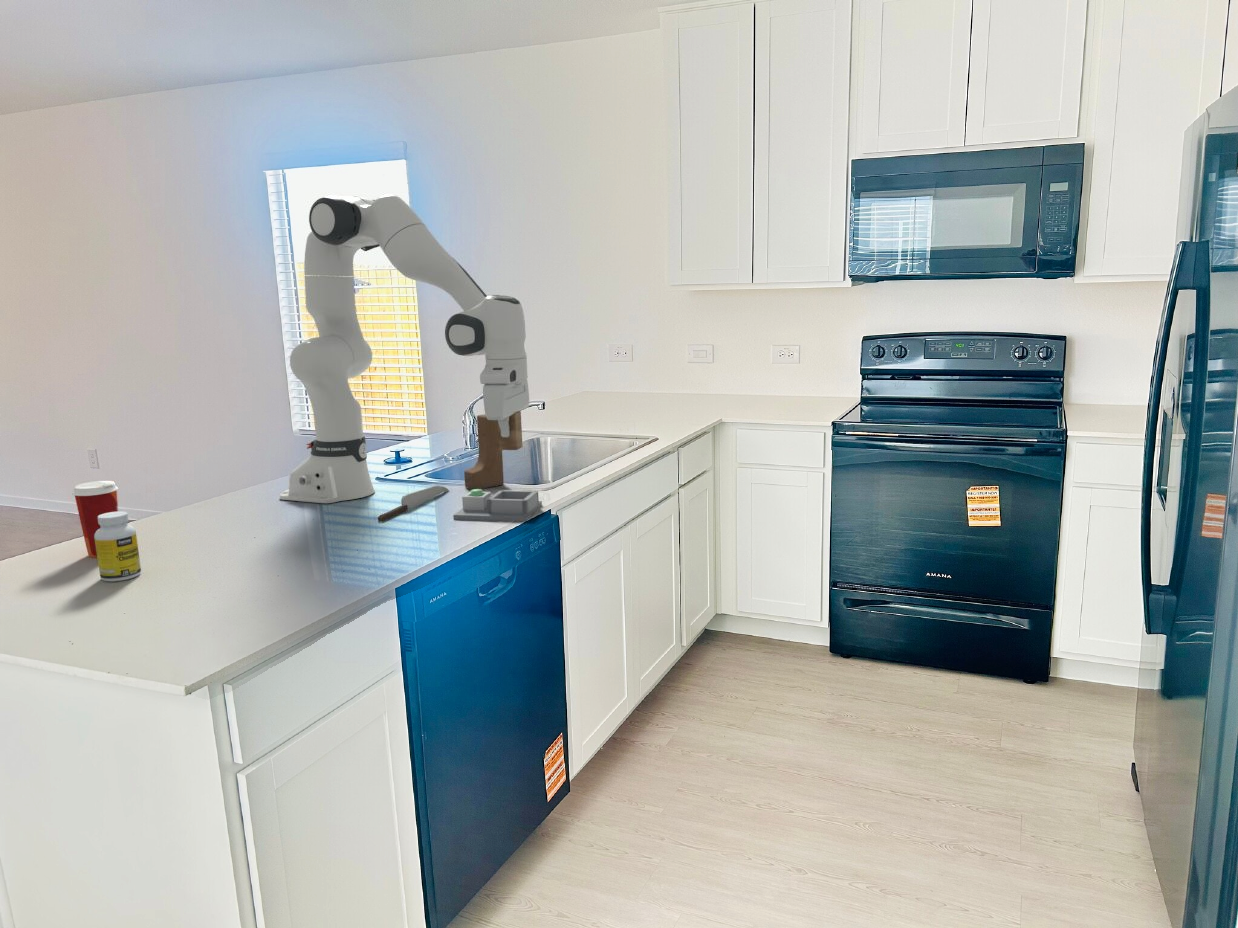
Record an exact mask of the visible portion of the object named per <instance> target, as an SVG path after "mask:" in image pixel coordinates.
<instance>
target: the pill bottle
mask: <svg viewBox="0 0 1238 928" xmlns="http://www.w3.org/2000/svg"><path fill="white" fill-rule="evenodd" d="M128 521H129V513H128V512H127V511H121V510H120V511H119V510H118V511H117V512H109V513H104V514H101V515H99V516H98V524H99V525H100V527H101V528H100V529H98V530H97V531H96V533H95V535H94V538H95V545H96V552H97V558H96V559H97V563H98V564H97V565H98V569H99V576H100V579H101V580H102V581H104V582H110V583H112V582H113V583H114V582H122V581H127V580H132V579H134V578H136V577H137V576H140V574H141V572H142V569H141V568H142V566H141V561H140V560H141V559H140V552H139V546H138V545H139V543H138V538H137V536H138V535H137V531H136V527H134V526H133V525H131V524H128Z"/></svg>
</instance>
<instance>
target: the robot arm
mask: <svg viewBox="0 0 1238 928" xmlns="http://www.w3.org/2000/svg"><path fill="white" fill-rule="evenodd" d="M308 223H309V227H310V230H311V231H310V233H309V234H308V235H307V238H306V243H305V250H304V267H303V269H304V270H303V271H304V273H303V274H304V290H305V292H304V294H305V307H306V311H307V313H308V314H309V315H310V316H311V317H312V319H313V321H314V323H315V325H316V326H315V327H316V328H317V333H318V336H317V337H311V338H308V339H305V340H304V341H302V342H301V343H299V344H297V345H296V346H295V347H294V348H293V350H292V351H291V354H290V355H289V356H290V357H289V365H290V370H291V372H292V373H293V375H294V376H295V377H296V379H298V380H299V381H300V382H301V383H302V385H303V387H304V388H305V389H304V390H305V391H306V394H307V395H308V398H309V401H310V404H311V408H312V412H313V421H314V430H315V431H314V432H315V439H314V440H312V441H311V442H310V443H306V446H307V447H306V449H311V452H310V455H309V456H307V458H305V459H304V460H303V461H302V462H301V463H300V464H298V465H297V466H296V467H295V468H293V470H292V471H291V472H290V475H289V477H288V478H289V480H288V489H285V490H284V491H282V492H281V493H280V494H279V500H286V501H297V502H305V503H306V502H307V503H314V504H315V503H316V504H332V503H336V502H337V503H338V502H342V501H350V500H355V499H360V498H365V497H367V496H371V495H372V494H374V493H375V492H376V490H375V488H374V485H373V483H372V482H373V481H372V480H371V475H370V473H369V468H368V467H369V466H368V463H367V459H368V458H367V456H368V455H367V454H368V452H367V442H366V437H365V435H364V429H363V427H364V426H363V415H362V414H363V413H362V406H361V404H360V403H359V401H358V400H357V399H356V398H355V397H354V395H353V393H352V390H351V387H350V384H349V380H350V379H354V378H356V377H358V376H359V375H361V374H363V373H364V372H365V371H366V370H367V369H369V368H370V366H371V364H372V361H373V351H372V348H371V346H370V345H369V343H368V342H367V341H366V339H365V338H364V335H363V332H362V329H361V326H360V323H359V319H358V315H357V309H356V298H355V297H356V296H355V293H356V292H355V277H354V276H355V274H354V257H355V255H356V253H357V252H358V251H359V250H360V249H361V250H362V251H364V252H367V251H370V250H373V249H375V248H380V249H381V250H382V252H383V253H384V255H385V256H386V258H387V260H388V261H389V262H390V263H391V264H392V266H393V267H394V268H395V269H396V270H397V271H398V272H399V273H400V274H401V275H403V276H404V277H405V278H408V279H410V280H414V281H417V282H421V283H424V284H429V285H431V286H433V287H437V288H439V289H440V290H443V291H444V292H446V293H447V294H449V296H450V297H451V298H453V300H454V301H455V302H456V303H457V304H458V305H459V307H460V308H461V309H462V310H463V311H460V312H459V313H456V314H453V315H451V316H450V317H449V319H448V320H447V322H446V324H445V329H444V337H445V342H446V344H447V346H448V348H449V349H450V350H451V351H452V352H453V353H454V354H455V355H458V356H464V357H474V356H483V355H484V356H485V365H484V368H483V370H482V371H481V372H480V375H479V380H480V384H482V385H483V387H482V398H483V399H482V400H483V407H484V409H483V410H484V414H486V417H487V419H488V420H498V423H499V426H500V429H501V436H502V437H509V436H510V435H511V428H509V422H508V421H509V416H511V415H513V414H514V413H516V412H518V411H521V412H522V411H523V410H525V409H528V408H529V406H530V391H529V383H528V362H527V361H528V360H527V359H528V358H527V353H526V349H525V342H526V338H527V337H526V323H525V321H526V320H525V315H524V311H523V307H522V304H521V302H520V300H518V299H517V298H515V297H513V296H508V295H501V294H491V295H490V294H489V295H487V294H486V293H485V292H484V290H483V289H482V288H481V287H480V286H479V284H478V283H477V282H476V281H475V280H474V279H473V277H472V276H471V275H470V274H469V273H468V272H467V270H466V269H465V267H463V266H462V265H461V264H460V263H459V262H458V261H457V260H456V259H455V258H454V257H453V256H452V255H451V254H450V253H449V252H448V251H447V250H446V249H445V248H444V247H443V246H442V245H441V243H440V242H439V241H438V240H437V239H436V237H435V236H434V235H433V234H432V232H431V231H430V230H429V228H428V227H427V225H426V224H425V223H424V222H423V220H422V219H421V218H420V216H419V215H418V214H417V213H416V212H415V211H414V209H412V207H410V205H408V204H407V203H406V202H405V200H404V199H402V198H401V197H399V196H398V195H395V194H383V195H382V196H379V197H377V198H375V199H369V198H366V197H362V196H361V197H360V196H339V195H328V196H323V197H321V198H318V199H317V200H315V201H314V203H313V204H312V205H311V207H310V210H309V215H308Z"/></svg>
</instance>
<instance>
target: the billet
mask: <svg viewBox="0 0 1238 928" xmlns="http://www.w3.org/2000/svg"><path fill="white" fill-rule="evenodd" d="M508 422H509V428H511V435H510V436H509V437H502V436H501V429H500V426H499V423H498V432H499V450H502V451H518V450H520V449H522V448H523V432H522V431H523V428H522V410H521V411H518V412H516V413H514V414H513V415H511V416H509V421H508Z"/></svg>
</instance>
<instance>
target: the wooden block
mask: <svg viewBox="0 0 1238 928" xmlns="http://www.w3.org/2000/svg"><path fill="white" fill-rule="evenodd" d="M476 426H477V444H478V455H477V456H478V457H477V461H476V463H475V464H474V465H473V467H471V468H470V467H469V468H467V469H465V470H464V473H463V474H464V477H463V478H464V487H465V488H466V489H469V490H470V491H471V490H474V489H481V490H484V489H488V488H493V487H498V486H497V485H500V486H503V485H504V483H505V480H504V462H503V450H499V432H498V420H488V419H487V417H486V414H485V413H484V414H479V415H476Z"/></svg>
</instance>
